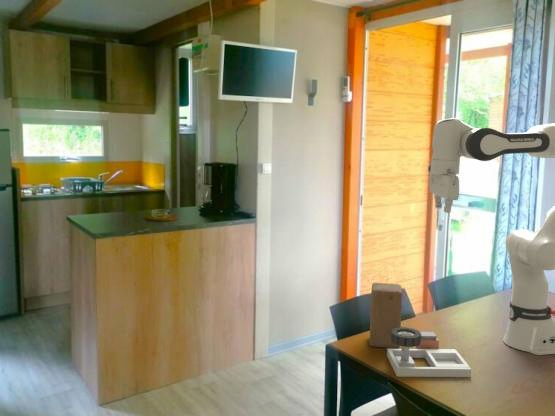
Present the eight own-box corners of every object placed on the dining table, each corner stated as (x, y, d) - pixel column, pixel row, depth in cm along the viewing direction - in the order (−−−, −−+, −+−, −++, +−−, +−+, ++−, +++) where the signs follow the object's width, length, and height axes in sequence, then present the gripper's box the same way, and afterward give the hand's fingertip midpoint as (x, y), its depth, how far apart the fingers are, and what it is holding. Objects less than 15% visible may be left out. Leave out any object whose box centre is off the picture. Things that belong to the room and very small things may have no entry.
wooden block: (399, 349, 174) (402, 292, 172) (369, 347, 176) (371, 290, 174) (398, 338, 184) (401, 283, 181) (370, 336, 186) (372, 281, 183)
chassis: (454, 356, 170) (456, 330, 168) (470, 377, 155) (472, 348, 154) (387, 355, 170) (388, 329, 168) (396, 376, 155) (398, 347, 154)
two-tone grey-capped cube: (433, 348, 176) (434, 331, 175) (438, 355, 171) (439, 337, 170) (415, 348, 176) (416, 331, 175) (419, 354, 171) (420, 336, 170)
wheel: (416, 335, 166) (416, 327, 165) (423, 347, 157) (424, 338, 157) (388, 335, 166) (388, 327, 165) (394, 346, 157) (394, 337, 157)
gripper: (465, 170, 160) (462, 215, 162) (445, 166, 181) (442, 206, 183) (445, 170, 160) (442, 215, 162) (426, 166, 181) (424, 205, 183)
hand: (442, 210), depth 173 cm, fingers open, 8 cm apart
